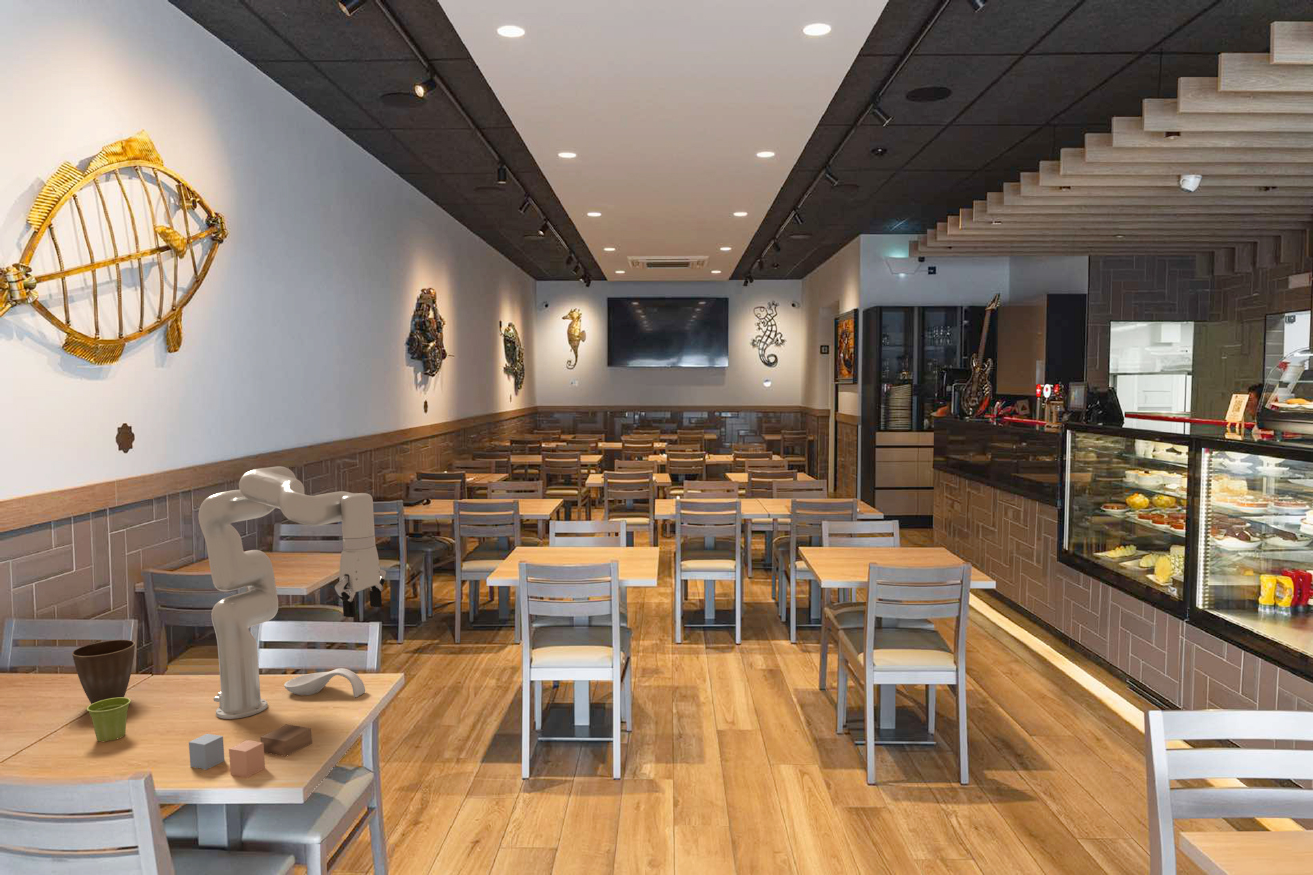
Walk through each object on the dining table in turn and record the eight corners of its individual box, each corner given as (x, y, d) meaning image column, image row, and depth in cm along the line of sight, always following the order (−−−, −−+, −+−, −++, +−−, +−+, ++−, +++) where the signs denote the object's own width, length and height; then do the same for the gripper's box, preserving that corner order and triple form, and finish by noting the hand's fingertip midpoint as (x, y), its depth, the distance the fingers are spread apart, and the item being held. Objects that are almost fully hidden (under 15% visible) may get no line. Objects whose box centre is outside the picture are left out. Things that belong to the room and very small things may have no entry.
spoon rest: (276, 698, 243) (274, 673, 243) (303, 684, 255) (301, 660, 254) (349, 703, 237) (348, 677, 237) (373, 688, 248) (372, 664, 248)
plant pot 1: (149, 698, 246) (145, 643, 245) (92, 716, 233) (88, 658, 232) (122, 690, 254) (118, 637, 253) (66, 707, 241) (61, 651, 240)
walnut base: (261, 753, 206) (260, 736, 206) (287, 739, 213) (286, 724, 213) (286, 757, 203) (285, 741, 203) (312, 744, 210) (311, 728, 210)
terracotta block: (230, 774, 194) (228, 748, 194) (248, 765, 199) (247, 739, 199) (247, 777, 192) (245, 751, 192) (265, 768, 197) (263, 742, 197)
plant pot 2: (141, 731, 221) (139, 698, 221) (107, 746, 212) (105, 712, 212) (114, 728, 224) (112, 695, 224) (80, 742, 215) (77, 708, 215)
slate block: (190, 767, 199) (188, 741, 199) (209, 758, 204) (207, 733, 203) (206, 770, 197) (204, 744, 197) (224, 761, 202) (222, 736, 201)
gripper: (370, 536, 223) (374, 602, 224) (322, 549, 207) (326, 619, 208) (394, 537, 220) (397, 603, 221) (347, 550, 204) (351, 621, 205)
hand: (363, 611), depth 214 cm, fingers open, 9 cm apart
